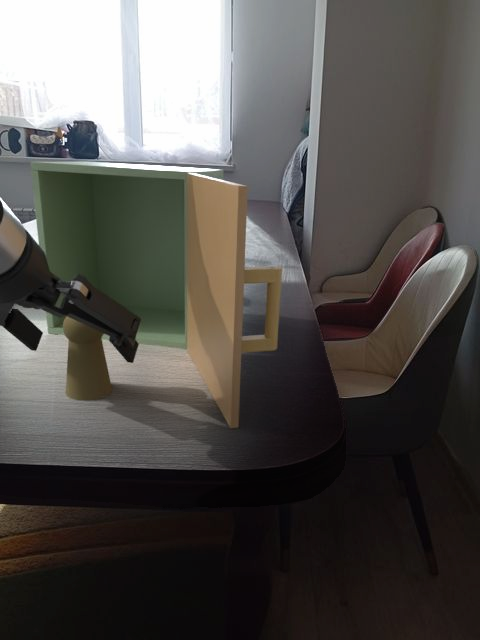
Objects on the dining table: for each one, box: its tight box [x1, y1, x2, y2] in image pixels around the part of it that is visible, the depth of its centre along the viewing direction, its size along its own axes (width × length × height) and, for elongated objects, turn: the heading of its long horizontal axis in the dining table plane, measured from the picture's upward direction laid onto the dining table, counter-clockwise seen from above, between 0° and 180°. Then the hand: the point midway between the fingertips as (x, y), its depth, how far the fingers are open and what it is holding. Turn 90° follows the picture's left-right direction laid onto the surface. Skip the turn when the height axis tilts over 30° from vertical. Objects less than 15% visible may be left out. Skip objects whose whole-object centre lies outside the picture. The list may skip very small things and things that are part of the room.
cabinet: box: [30, 161, 224, 350], centre depth 91 cm, size 18×26×28 cm
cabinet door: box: [186, 173, 283, 429], centre depth 70 cm, size 6×26×28 cm, turn 19°
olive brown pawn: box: [63, 317, 113, 402], centre depth 68 cm, size 6×6×11 cm
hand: (84, 347), depth 67 cm, fingers open, 13 cm apart
